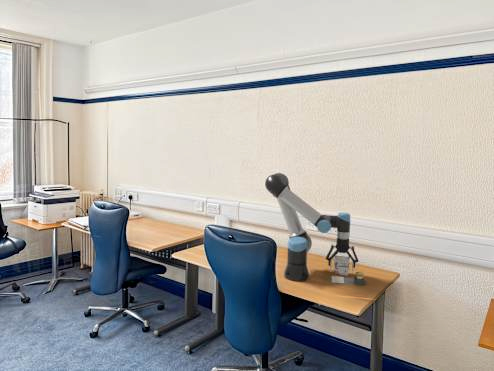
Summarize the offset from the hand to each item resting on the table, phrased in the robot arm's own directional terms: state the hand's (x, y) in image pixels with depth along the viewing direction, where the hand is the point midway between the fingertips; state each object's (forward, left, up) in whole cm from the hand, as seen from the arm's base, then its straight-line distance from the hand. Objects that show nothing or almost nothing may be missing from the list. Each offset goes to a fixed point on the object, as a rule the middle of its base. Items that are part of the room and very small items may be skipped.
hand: (341, 271), depth 235 cm
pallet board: (+3, -12, -2) cm, 13 cm away
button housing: (+9, -14, -1) cm, 17 cm away
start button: (+10, -15, -1) cm, 17 cm away
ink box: (0, 0, -2) cm, 2 cm away
